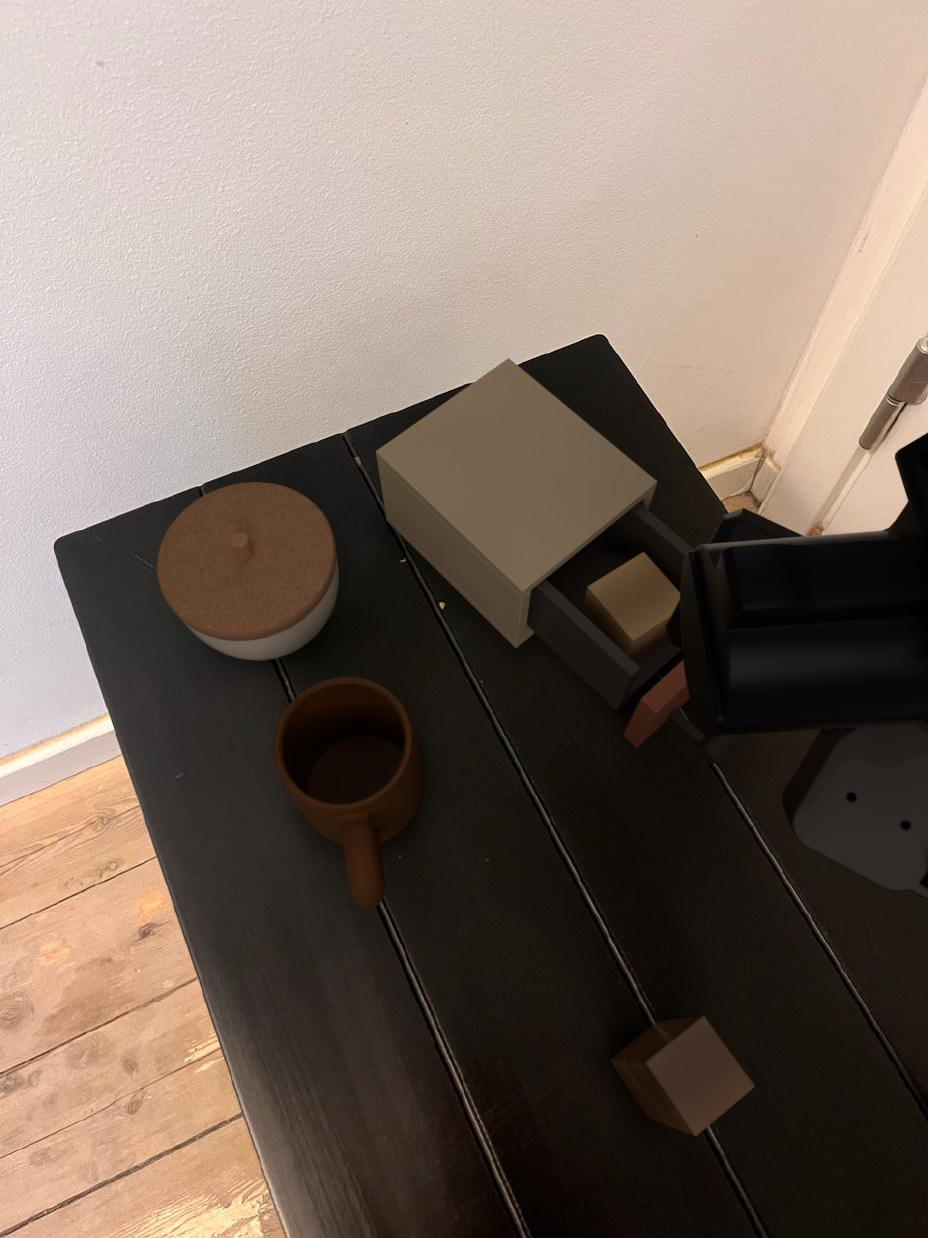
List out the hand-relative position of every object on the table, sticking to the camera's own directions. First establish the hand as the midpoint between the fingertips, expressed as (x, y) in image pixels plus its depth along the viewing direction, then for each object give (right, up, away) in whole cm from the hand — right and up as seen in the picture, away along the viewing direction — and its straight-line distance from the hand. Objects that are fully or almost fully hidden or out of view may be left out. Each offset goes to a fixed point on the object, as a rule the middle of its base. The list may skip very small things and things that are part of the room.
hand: (837, 700), depth 43 cm
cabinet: (-15, +10, +19) cm, 26 cm away
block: (-8, +4, +13) cm, 16 cm away
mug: (-24, -8, +10) cm, 28 cm away
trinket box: (-32, +4, +16) cm, 36 cm away
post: (-8, -20, +4) cm, 22 cm away
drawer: (-7, +2, +14) cm, 15 cm away
